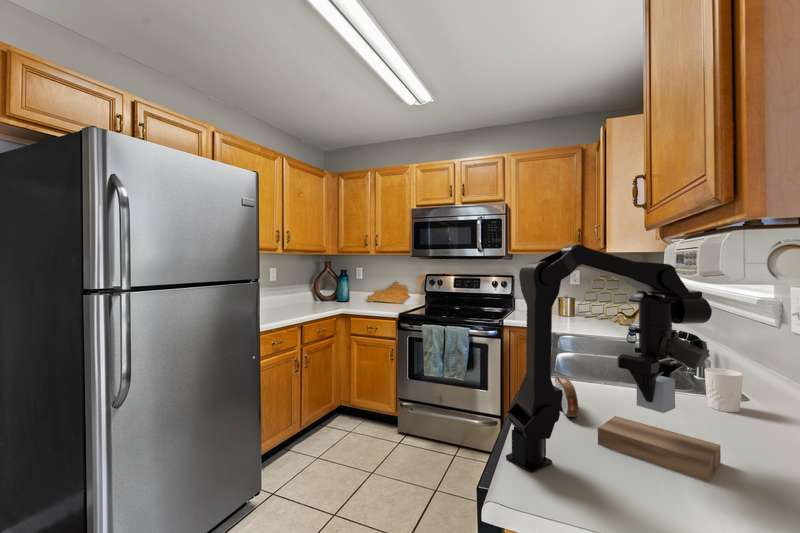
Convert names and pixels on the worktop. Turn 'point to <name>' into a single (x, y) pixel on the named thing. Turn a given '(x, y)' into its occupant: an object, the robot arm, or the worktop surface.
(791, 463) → the worktop surface
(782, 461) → the worktop surface
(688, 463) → the walnut block
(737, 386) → the white cup
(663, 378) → the gray block
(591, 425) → the worktop surface
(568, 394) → the tin
